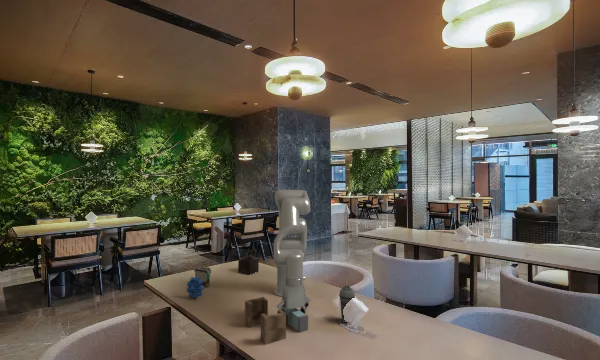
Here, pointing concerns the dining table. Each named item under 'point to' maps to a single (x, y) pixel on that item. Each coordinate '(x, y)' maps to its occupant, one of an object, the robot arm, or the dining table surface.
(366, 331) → the dining table surface
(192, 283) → the grapes
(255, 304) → the notched wooden uprights
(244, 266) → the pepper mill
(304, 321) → the rail
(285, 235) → the robot arm
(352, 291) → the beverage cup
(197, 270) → the food container
